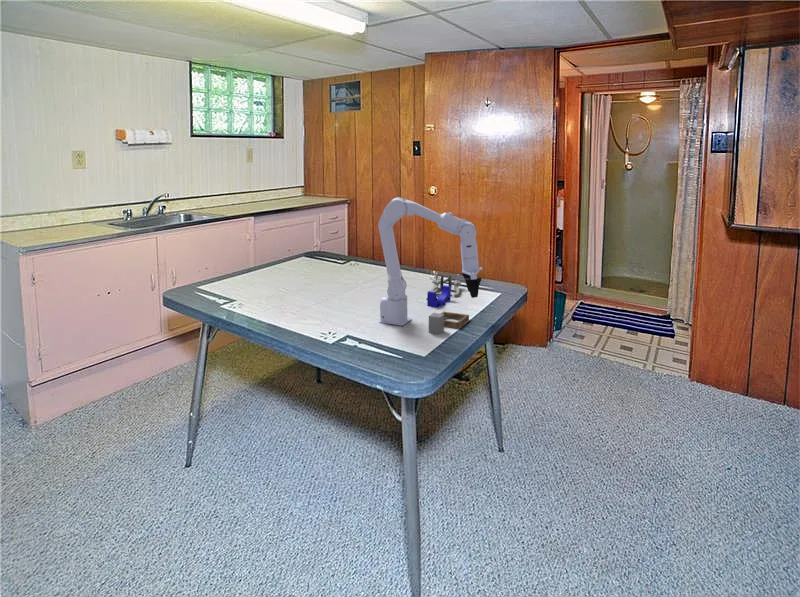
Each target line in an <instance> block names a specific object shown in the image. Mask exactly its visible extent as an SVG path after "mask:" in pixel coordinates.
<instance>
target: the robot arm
mask: <svg viewBox="0 0 800 597" xmlns="http://www.w3.org/2000/svg"><path fill="white" fill-rule="evenodd" d="M405 215H406V217H411V216H419V217H421V218H423V219H426V220H429V221H431V222H435V223H436V224H437V226H438V229H441V230H442V231H445V232H447V233H451V234H453V235H454V236H459V237H460V238H459V239H460V246H459V247H460V256H461V266H462V267H461V268H462V270H461V276H462V277H463V279H464V281H465V285H466V288H467V291H468V293H469V294H470V297H471V298H472V299H474V298H478V295H479V291H480V290H479V288H480V284H481V282H482V277H478V276H477V275H478V273H480V271H483V267H481V266H480V267H479V264H480V263H479V253H478V243H477V229H476V226H475V225H474V224H473V223H472V222H471V221H470V220H466V218H460V217H457V216H454V215H453V212H450V211H449V212H443V213H438V212H437V211H434V210H432V209H430V208H428V207H425V206H424V205H421V204H420V203H417V202H416V201H412V200H410V199H405V198H402V197H401V196H398V197H394V198H393V199H391V200H390V201H389V202H388V204H387V205H386V207H384V209H383V212H382V214H381V217H380V219H379V222H378V224H377V225H378V226H377V227H378V230H379V231H378V232H379V237H380V242H381V247H382V252H383V257H384V261H385V266H386V273H387V283H388V284H387V290H386V292H387V295H386V296H383V297H382V298H381V299H380V303H379V310H380V313H379V314H380V317H379V319H380V320H379V323H382V324H389V325H395V326H404V325H406V324H407V323H409V322H410V321H412V319H413V318H412V317H408V295H406V289H407V286H408V285H407V282H406V280H405V278H404V277H403V273H402V270H401V266H400V260H399V255H398V250H397V245H396V239H395V238H396V237H395V234H394V228H393V227H394V225H395V224H396V223H397V221H399V220H400V219H402V218H404V216H405Z"/></svg>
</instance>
